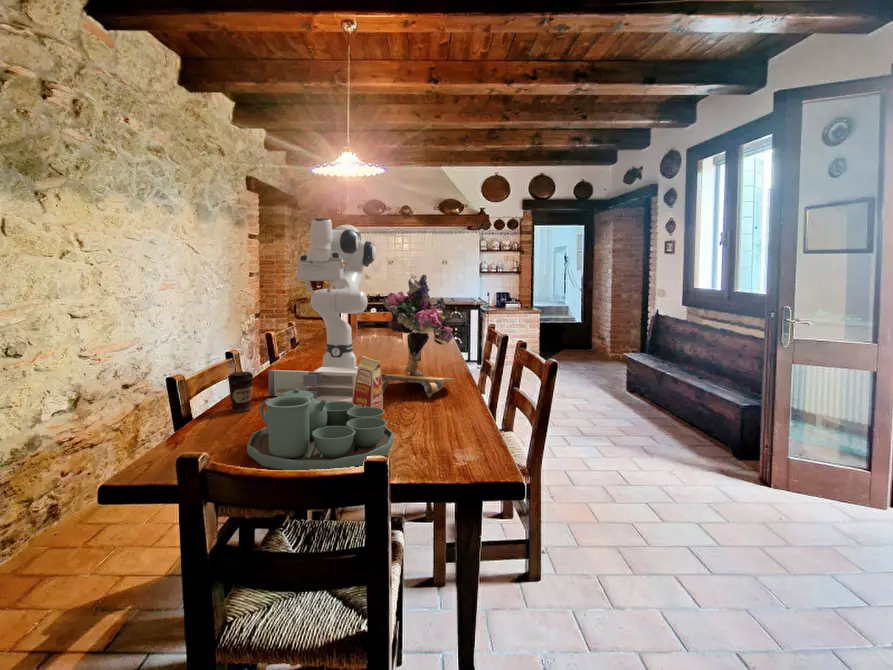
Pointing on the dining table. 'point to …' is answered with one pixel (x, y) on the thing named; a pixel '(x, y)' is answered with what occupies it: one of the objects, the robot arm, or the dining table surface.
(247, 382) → the coffee cup
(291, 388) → the door
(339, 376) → the cabinet
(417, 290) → the flower vase arrangement
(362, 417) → the tea set
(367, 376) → the milk carton
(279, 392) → the door rack
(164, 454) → the dining table surface
